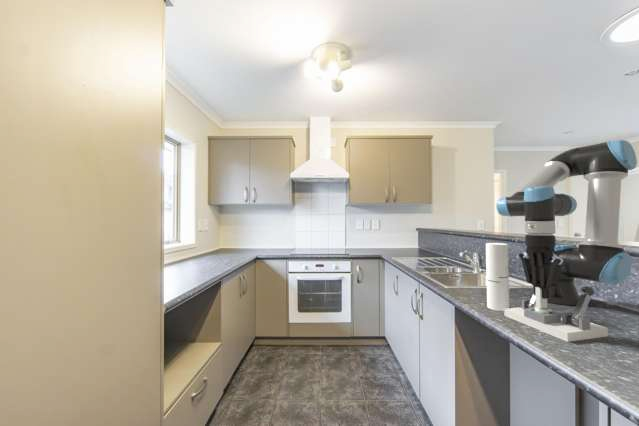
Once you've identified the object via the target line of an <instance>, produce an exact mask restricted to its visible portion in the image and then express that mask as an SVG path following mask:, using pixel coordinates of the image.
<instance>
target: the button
mask: <svg viewBox="0 0 639 426" xmlns="http://www.w3.org/2000/svg"><path fill="white" fill-rule="evenodd" d="M549 309H550V308H548V307H547V308H543V309H540V308H537V307H535V312H538V313H541V314H549Z"/></svg>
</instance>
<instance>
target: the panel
mask: <svg viewBox="0 0 639 426" xmlns="http://www.w3.org/2000/svg"><path fill="white" fill-rule="evenodd" d="M530 300H531V299H530V298H527V299H521V306H518V307H509V308H507V309H504V311H503V312H504V313H503V314H504V317H506V318H509V319H511V320H514V321H516V322H519V323H521V324H523V325H526V326H529V327H531V328H533V329H536V330H538V331H540V332H543V333H545V334H548V335H550V336H553V337H555V338H558V339H559V340H562V341H565V342H566V343H568V342H577V341H585V340H591V339H599V338H606V337H609V330H608V329H609V328H608V327H606V326H603V325H600V324H597V323H593V322H591V318H590V317H583V318H579V326H576V325H573V324H570V323H568V322H567V317H568V316H569V315H571V316H572V315H573V313H574V312H571V311H565V310H561V309H550V308H548V309H549V314H541V313H538V312H535V307H536V304H534V308H526V306H525V305H526V303H527V302H530Z"/></svg>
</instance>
